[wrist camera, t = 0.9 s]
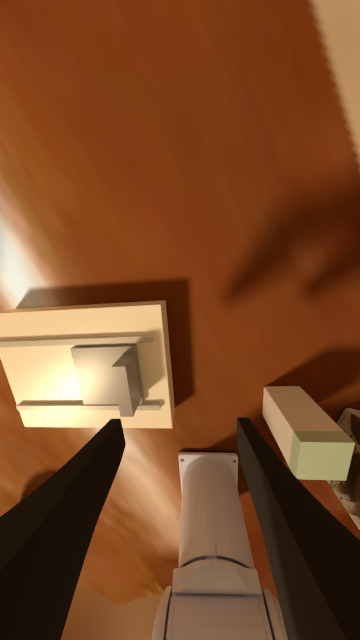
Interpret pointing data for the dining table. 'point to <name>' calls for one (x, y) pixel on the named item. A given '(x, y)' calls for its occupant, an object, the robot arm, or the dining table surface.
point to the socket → (58, 368)
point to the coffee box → (356, 490)
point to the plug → (306, 434)
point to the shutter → (109, 376)
